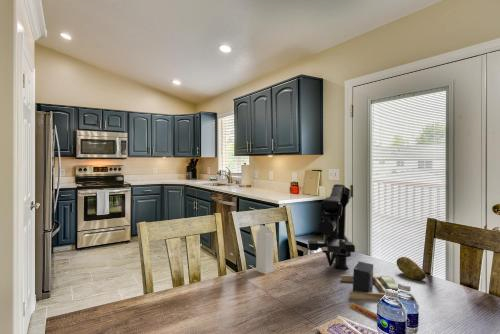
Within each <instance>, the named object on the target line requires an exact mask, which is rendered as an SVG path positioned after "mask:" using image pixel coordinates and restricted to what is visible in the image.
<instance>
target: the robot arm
mask: <svg viewBox="0 0 500 334" xmlns="http://www.w3.org/2000/svg"><path fill="white" fill-rule="evenodd" d="M331 188H332V189H331V192H330V195H329V196H328V197H326V198H324V199H323V201H322V203H321V209H320V213H319V217H321V218H323V219H322V221H321V222H320V223H319V224H318V230H319V232H320V233H321V234H322V235H323V242H318V240H317V239H316V240H313V239H309V240H308V241H307V249H308V250H309V251H318V250H319V248H320V250H321V252H322V253H324V254H325V256H326V260H327V263H328V266H329V267H332V265H333V268H334V269H337V270H338V269H340V270H349V267H348V265H347V263H348V261H347V260H348V259H347V258H350V257H352V253H355V252H356V246H355V245H354V244H353V242H351V241H349V240H348V237H347V236H346V218H347V217H346V214H347V213H346V211H347V210H346V209H347V206H348V204H349V203H350V200H351V198H352V197H351V189H350V188H348V187H346V186H345V184H340V183H339V184H336V183H335V184H333V186H332V187H331Z"/></svg>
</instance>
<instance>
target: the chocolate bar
mask: <svg viewBox="0 0 500 334" xmlns="http://www.w3.org/2000/svg"><path fill="white" fill-rule="evenodd" d="M349 308H351V309H352V310H354V311H357V312H358V313H360V314H361V315H364V316H365V317H368V318H370V319H371V320H373V321H375V322H377V315H378V314H377V313H375V312H373V311H371V310H369V309H367V308H365V307H363V306H361V305H359V304H357V303H355V302H353V301H351V302H350V305H349Z"/></svg>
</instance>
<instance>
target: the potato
mask: <svg viewBox="0 0 500 334" xmlns="http://www.w3.org/2000/svg"><path fill="white" fill-rule="evenodd" d="M396 266H397V268H398V269H399V271H400V272H402V273H403V275H404V276H405V277H406V278H409V279H412V280H414V281H422V280H426V277H427V276H426V272H425V271H424V270H423V269H422V267H420V266H419V265H418V264H417V263H416V262H415V261H414V260H412V259H411V258H409V257H407V256H400V257H399V258H397V260H396Z"/></svg>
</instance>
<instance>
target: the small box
mask: <svg viewBox="0 0 500 334" xmlns="http://www.w3.org/2000/svg"><path fill="white" fill-rule="evenodd" d="M352 275H353V282H352V292H370V293H372V290H373V287H374V285H373V284H374V283H373V277H374V264H371V263H367V262H363V261H357V264H356V265H355V266H354V268H353V274H352Z"/></svg>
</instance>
